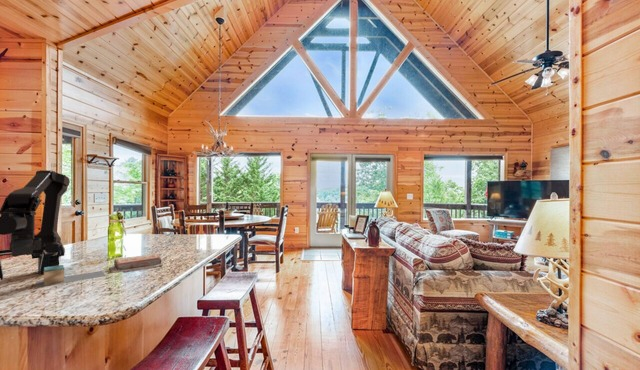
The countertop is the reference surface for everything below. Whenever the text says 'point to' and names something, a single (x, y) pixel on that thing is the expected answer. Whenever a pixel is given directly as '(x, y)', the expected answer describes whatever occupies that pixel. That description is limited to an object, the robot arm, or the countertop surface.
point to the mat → (73, 278)
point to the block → (53, 274)
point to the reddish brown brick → (136, 263)
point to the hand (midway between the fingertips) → (22, 276)
